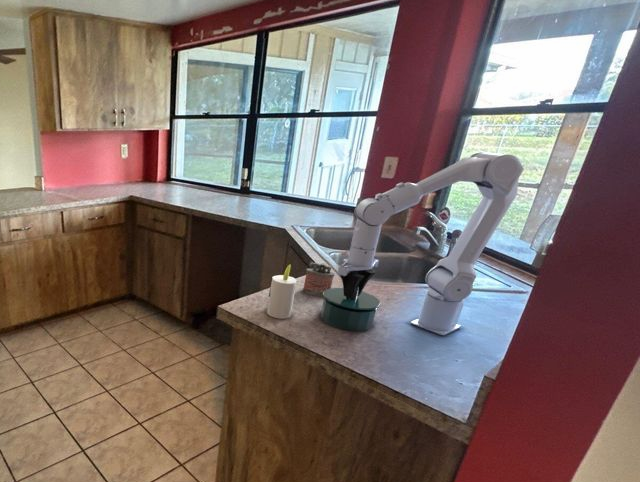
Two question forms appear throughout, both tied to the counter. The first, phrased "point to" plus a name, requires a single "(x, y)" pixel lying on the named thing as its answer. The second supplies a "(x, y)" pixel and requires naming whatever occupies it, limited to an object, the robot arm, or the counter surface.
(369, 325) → the pot
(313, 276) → the brick planter box
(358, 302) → the cover
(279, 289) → the candle
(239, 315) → the counter surface
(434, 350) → the counter surface
